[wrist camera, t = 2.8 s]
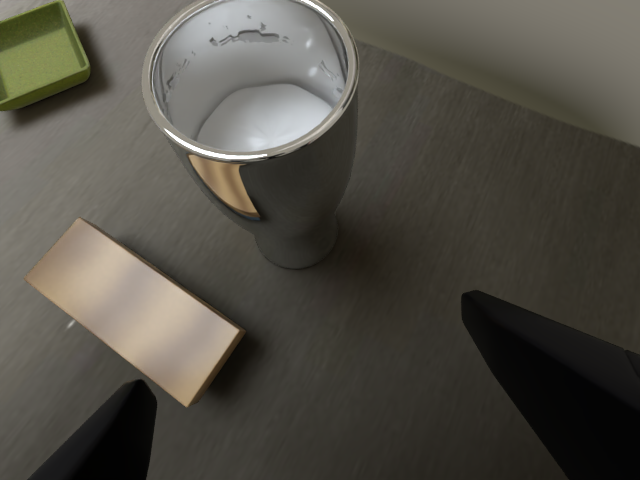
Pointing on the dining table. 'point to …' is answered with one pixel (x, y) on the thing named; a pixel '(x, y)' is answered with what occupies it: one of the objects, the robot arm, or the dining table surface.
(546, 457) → the dining table surface
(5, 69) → the green tray
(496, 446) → the dining table surface
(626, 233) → the dining table surface
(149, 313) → the scrub brush
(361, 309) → the dining table surface
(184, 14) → the beer glass
